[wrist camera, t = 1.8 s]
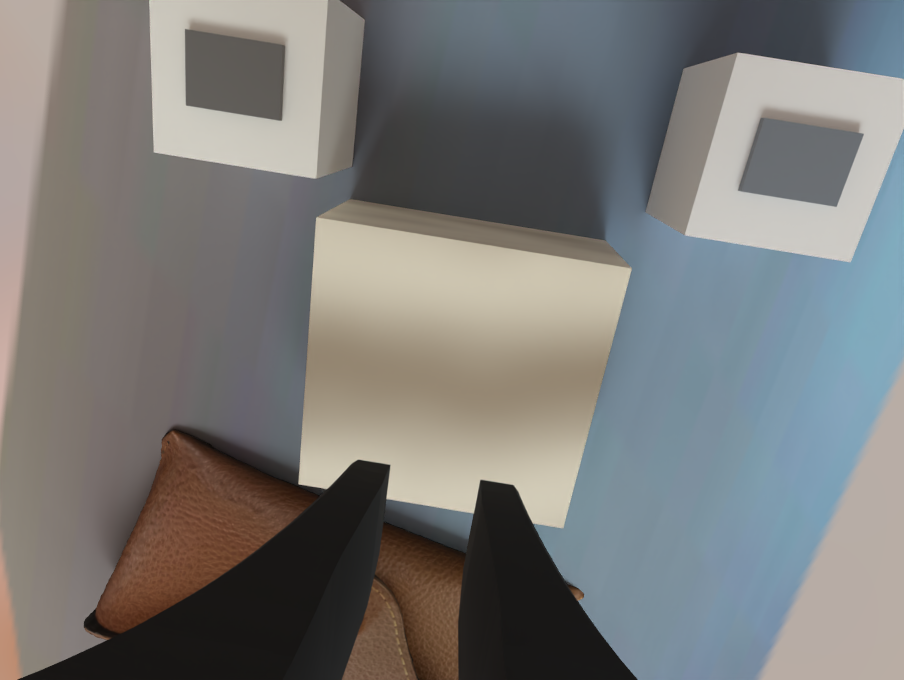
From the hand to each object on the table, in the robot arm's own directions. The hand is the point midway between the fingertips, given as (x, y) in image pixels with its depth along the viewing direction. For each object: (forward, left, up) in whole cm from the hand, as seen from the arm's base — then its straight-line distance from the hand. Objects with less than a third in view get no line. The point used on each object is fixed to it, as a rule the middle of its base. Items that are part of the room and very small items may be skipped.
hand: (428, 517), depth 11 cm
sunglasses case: (-11, +3, -10) cm, 15 cm away
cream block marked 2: (+7, +6, -10) cm, 13 cm away
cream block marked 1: (+7, -7, -10) cm, 14 cm away
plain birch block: (0, 0, -10) cm, 10 cm away
